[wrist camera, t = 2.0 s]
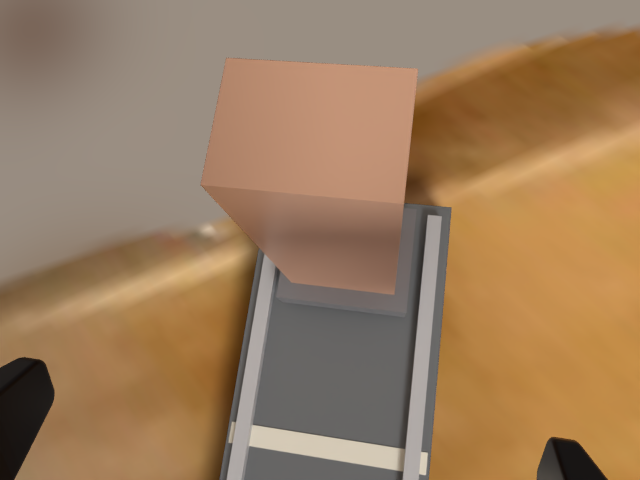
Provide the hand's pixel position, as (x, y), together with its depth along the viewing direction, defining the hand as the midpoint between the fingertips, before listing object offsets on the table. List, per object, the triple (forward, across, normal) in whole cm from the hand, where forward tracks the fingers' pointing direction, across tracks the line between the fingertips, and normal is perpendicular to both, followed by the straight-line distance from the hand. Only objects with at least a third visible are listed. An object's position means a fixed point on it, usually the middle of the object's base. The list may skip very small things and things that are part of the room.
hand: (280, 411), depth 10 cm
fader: (+10, 0, +3) cm, 11 cm away
